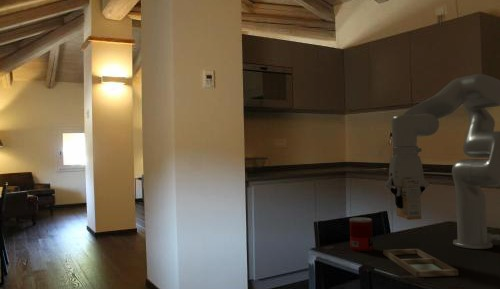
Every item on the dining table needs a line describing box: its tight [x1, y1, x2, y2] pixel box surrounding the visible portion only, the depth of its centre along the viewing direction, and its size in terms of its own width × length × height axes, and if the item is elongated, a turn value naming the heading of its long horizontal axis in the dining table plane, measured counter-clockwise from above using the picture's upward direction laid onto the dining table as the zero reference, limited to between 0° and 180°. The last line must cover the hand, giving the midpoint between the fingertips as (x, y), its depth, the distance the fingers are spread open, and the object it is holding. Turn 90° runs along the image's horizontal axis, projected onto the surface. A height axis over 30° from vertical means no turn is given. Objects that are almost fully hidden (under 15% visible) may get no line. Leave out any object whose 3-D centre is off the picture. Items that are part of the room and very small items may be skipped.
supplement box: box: [395, 178, 422, 221], centre depth 130 cm, size 8×5×13 cm, turn 5°
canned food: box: [349, 216, 374, 252], centre depth 143 cm, size 8×8×11 cm
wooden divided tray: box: [382, 248, 459, 278], centre depth 123 cm, size 12×25×2 cm, turn 2°
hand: (408, 206), depth 130 cm, fingers closed on supplement box, 5 cm apart
